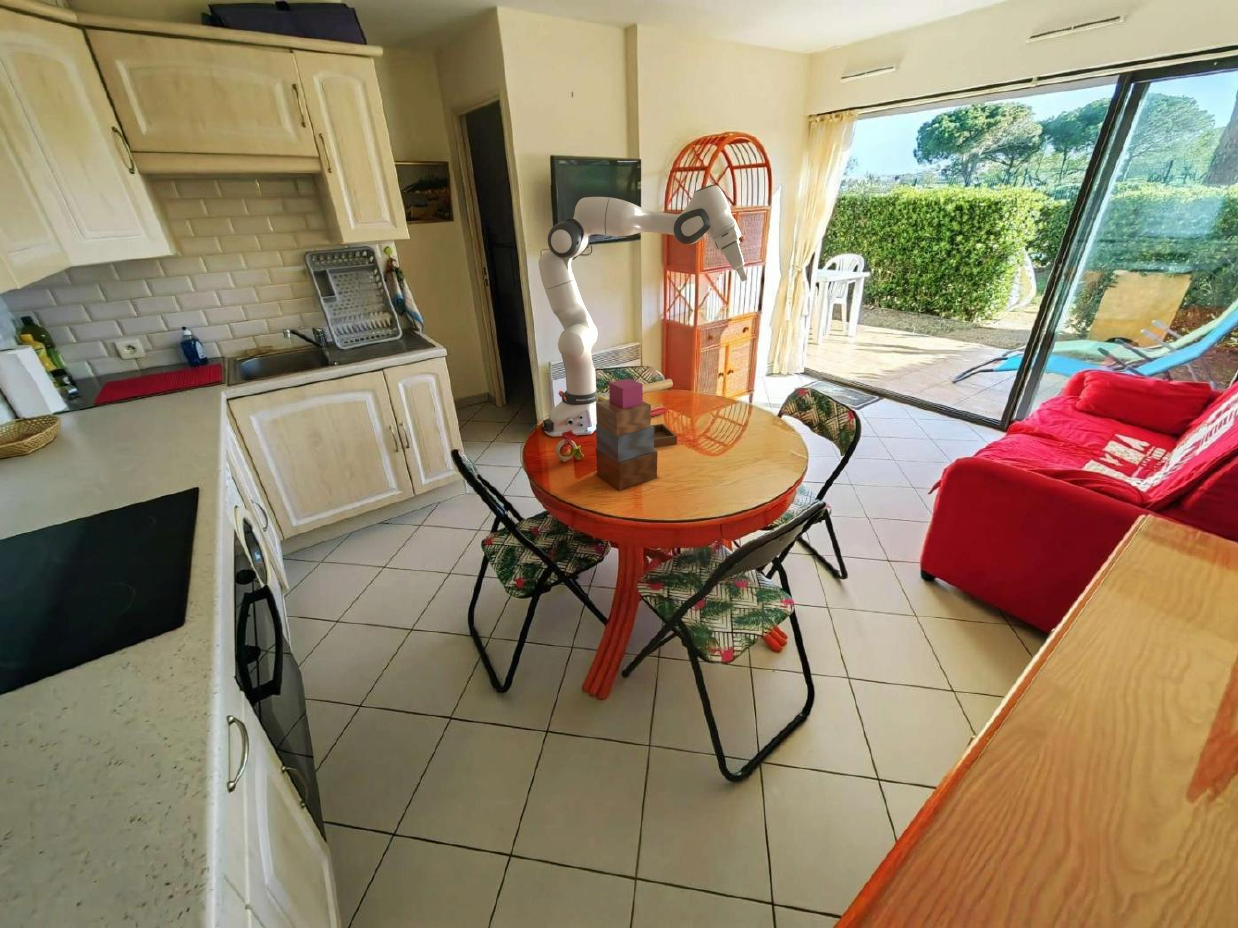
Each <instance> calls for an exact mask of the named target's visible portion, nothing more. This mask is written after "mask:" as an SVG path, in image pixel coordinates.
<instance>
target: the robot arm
mask: <svg viewBox="0 0 1238 928" xmlns="http://www.w3.org/2000/svg"><path fill="white" fill-rule="evenodd" d="M573 213H574V214H573V217H567V218H566V219H564V220H562V221H560V222H558V223H556V224H554V225H553V226H552V227H551V229H550V230H549V232H548V235H547V245H548V248H549V250H547V251H546V252H544V253H543V254H542V255H541V256H539V259H538V270H539V275H540V279H541V282H542V286H543V288H544V291H545V294H546V297H547V300H548V303H549V305H550V309H551V311H552V313H553V315H555V317H557V319H558V321H559V322H560V324H561V326H562V328H563V331H562V332H561V333H560V335H559V338H558V341H557V349H558V351H559V353H560V355H561V359H562V360H561V361H562V363H563V367H564V375H565V385H566V390H565V391H563V390H559V391H558V392H557V393H558V396H559V397H560V398H561V401H560V402H559V403H558V404H556V406H554V407H553V408H552V409H551V410H550V411H549V414H548V419H543V420H542V430H543V432H544V433H545V435H548V436H549V437H551V438H556V437H563V435H562V433H563V432H568V431H569V430H572V431H573V433H574V434H577V436H585V435H587V436H588V435H592V434H593V433H594V432H596V424H597V421H596V403H597V402H598V394H599V393H598V390H597V376H596V368H595V366H594V362H593V355H592V348H593V347H594V346H595V345H596V343H597V341H598V335H599V334H598V328H597V326H596V324H595V323H594V322H593V320H592V318H591V315H590V314H589V312H588V310H587V308H586V305H585V303H584V301H583V298H582V296H581V293H580V289H579V287H578V284H577V281H576V277H575V275H574V272H573V269H572V262H573V261H574V260H575V259H576V258H578V257H579V256H580V255H582V254H584V252H585V251H586V250H587V249H588V247H589V245H590V239H591V238H590V237H591V236H593V235H599V236H607V237H628V236H633V235H636V234H642V233H655V234H663V235H671V236H674V237H675V238H676V240H677V241H678V242H679V243H681V244H683V245H693V244H696V243H698V242H700V241H701V240H702V239H704V237H705V236H706V234H708V236H709V238H710V241H711V243H712V245H713V248H714V250H715V251H716V250H720V253H721V254H723V256H724V258H725V259H726V260H727V263H728V264H729V266H730V268H731V269H732V270H733V271H736V273H737V275H738V276H739V278H740V281H741V282H745V281H747V280H748V277H747V274H746V272H745V269H744V266H745V261H744V257H743V254H742V250H741V246H740V243H741V241H740V237H741V236H742V233H741V230H740V228H739V225H738V224H737V220H736V219H735V218H734V216H733V215H732V212H731V207H730V204H729V203H728V200H727V198H726V195H725V194H724V192H723V190H722V189H721V188H720V186H718V185H716V184H709V185H706V186H704V187H701V188H699V189H697V190H695V191H694V192H693V193H692V197H691V199H690V201H689V202H688V204H687V205H686V207H685V208H684V209H683V210H682V212H680V213H670V212H669V213H668V212H661V211H653V210H649V209H646V208H644V207H641V206H639V205H637V204H634V203H632V202H629V201H628V200H625V199H620V198H615V197H607V196H589V197H587V196H586V197H582V198H581V199H579V200H578V202H577V203H576V205H575V208H574V212H573Z"/></svg>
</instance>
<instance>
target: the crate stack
mask: <svg viewBox="0 0 1238 928" xmlns="http://www.w3.org/2000/svg"><path fill="white" fill-rule="evenodd" d="M651 409H652V405H651V404H650V403H647V402H645V401H643V404H640V405H636V406H632V407H628V408H624V409H622V408H620V407H618V406H616V405H614V404H612V403H610V401H609V400H606V401H602V402H597V403H596V421H597V424H596V430H595V438H596V448H595V457H596V458H595V459H596V475H598V476H599V477H601V478H602V479H603V480H605V481H606V482H608V483H609V484H610V485H612V486H613V487H614V488H616V489H617V490H618V491H621V490H625V489H627V488H630V487H633V486H636V485H639V484H642V483H645V482H648V481H651V480H654V479H657V478H658V450H656V449H655V447H654V427H653V426H651V425H652V422H651V420H652V416H651Z"/></svg>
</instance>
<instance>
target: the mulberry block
mask: <svg viewBox="0 0 1238 928" xmlns="http://www.w3.org/2000/svg"><path fill="white" fill-rule="evenodd" d="M673 386H674V383H673V380H672V379H671V378H667V379H663V380H658V381H653V382H649V383H645V384H643V383H641V382H638V381H636V380H633V379H632V378H625V379H620V380H616V381H611V382H608V392H609V401H610V403H612V404H614V405H616V406H618V407H620V408H622V409H624V408H628V407H632V406H636V405H640V404H643V402H644V401H643V395H644V394H649V393H653V392H657V391H662V390H665V389H670V388H672V387H673Z"/></svg>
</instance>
